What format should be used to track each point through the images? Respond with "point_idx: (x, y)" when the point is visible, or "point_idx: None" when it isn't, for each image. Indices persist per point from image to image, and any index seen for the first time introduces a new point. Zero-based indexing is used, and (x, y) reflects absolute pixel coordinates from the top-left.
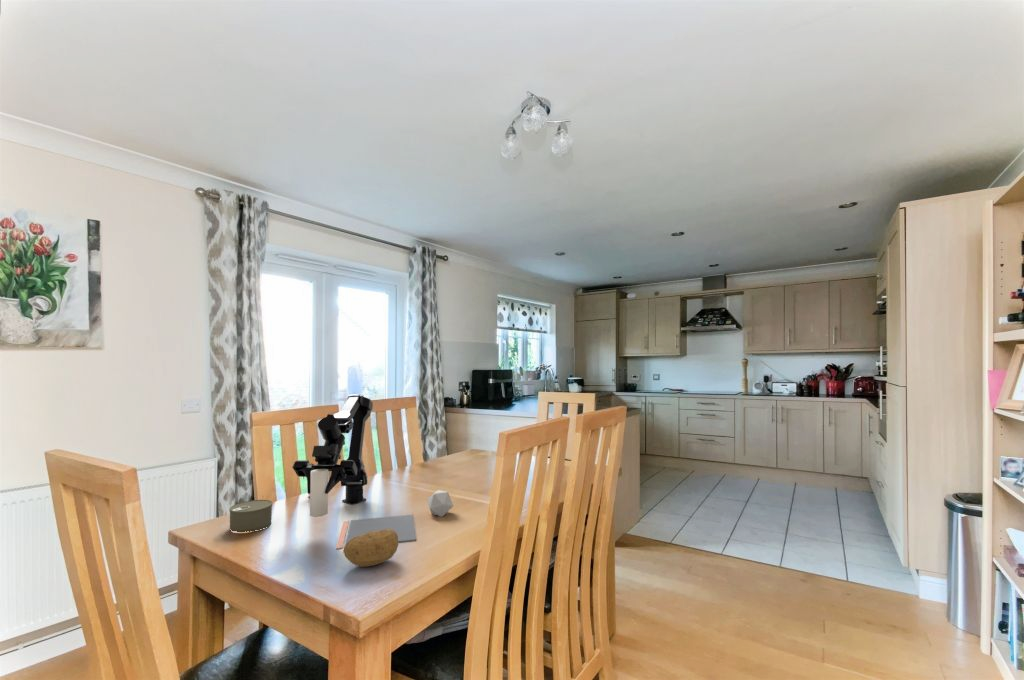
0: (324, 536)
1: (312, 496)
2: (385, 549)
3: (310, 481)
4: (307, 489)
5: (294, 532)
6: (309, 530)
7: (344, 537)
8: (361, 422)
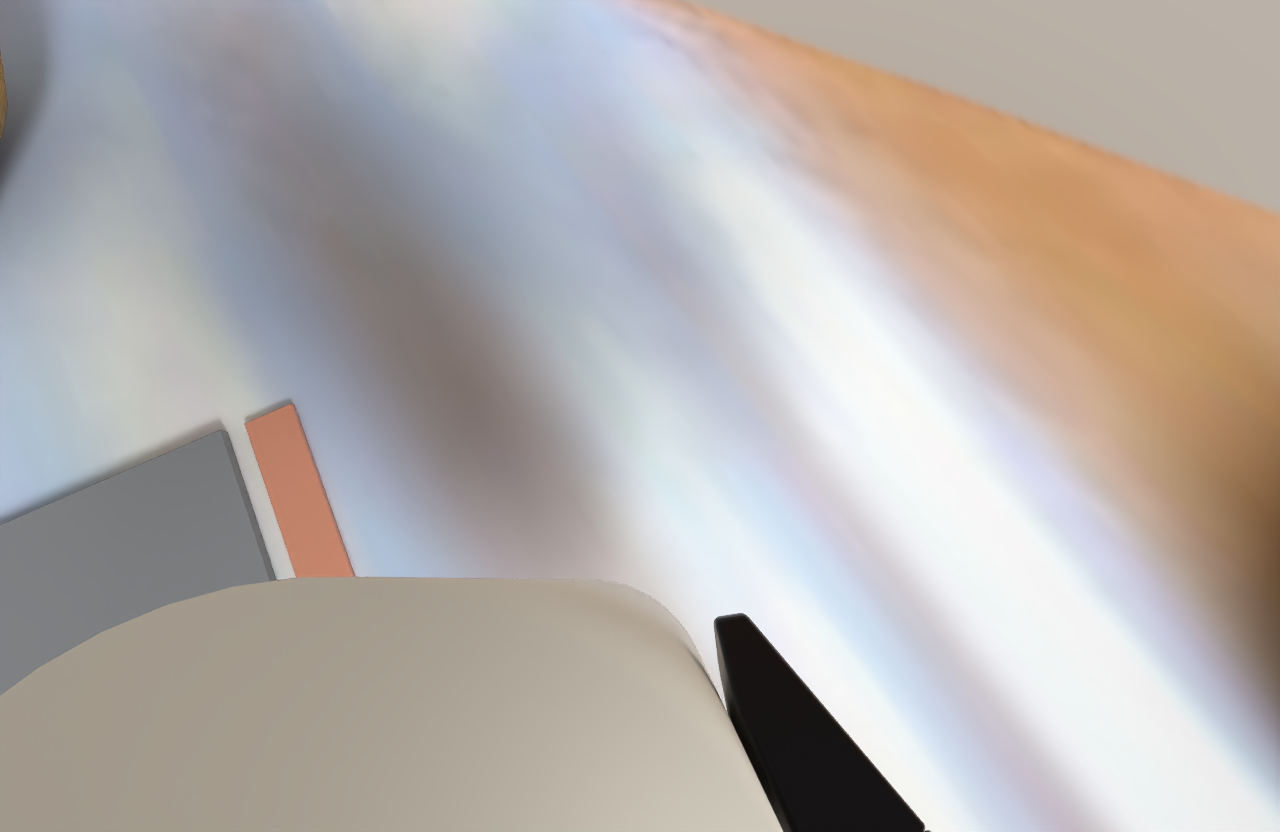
0: None
1: (601, 587)
2: None
3: (720, 708)
4: (774, 652)
5: (923, 721)
6: None
7: None
8: None
